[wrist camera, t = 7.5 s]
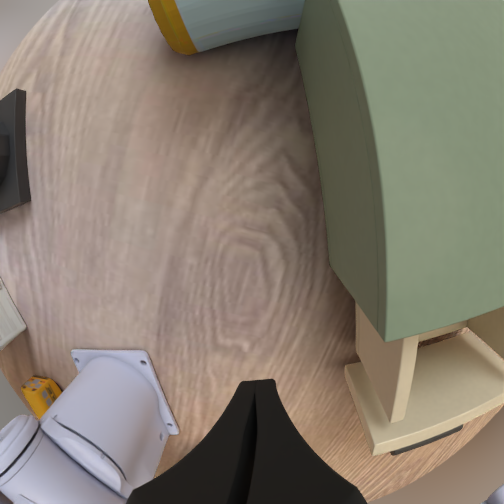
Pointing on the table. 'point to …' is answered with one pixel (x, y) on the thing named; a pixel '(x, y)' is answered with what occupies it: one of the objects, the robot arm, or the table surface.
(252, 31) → the bottle
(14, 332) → the white packaging box
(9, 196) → the panel
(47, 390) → the toy bus
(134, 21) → the table surface
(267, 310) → the table surface
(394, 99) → the cabinet
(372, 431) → the drawer
